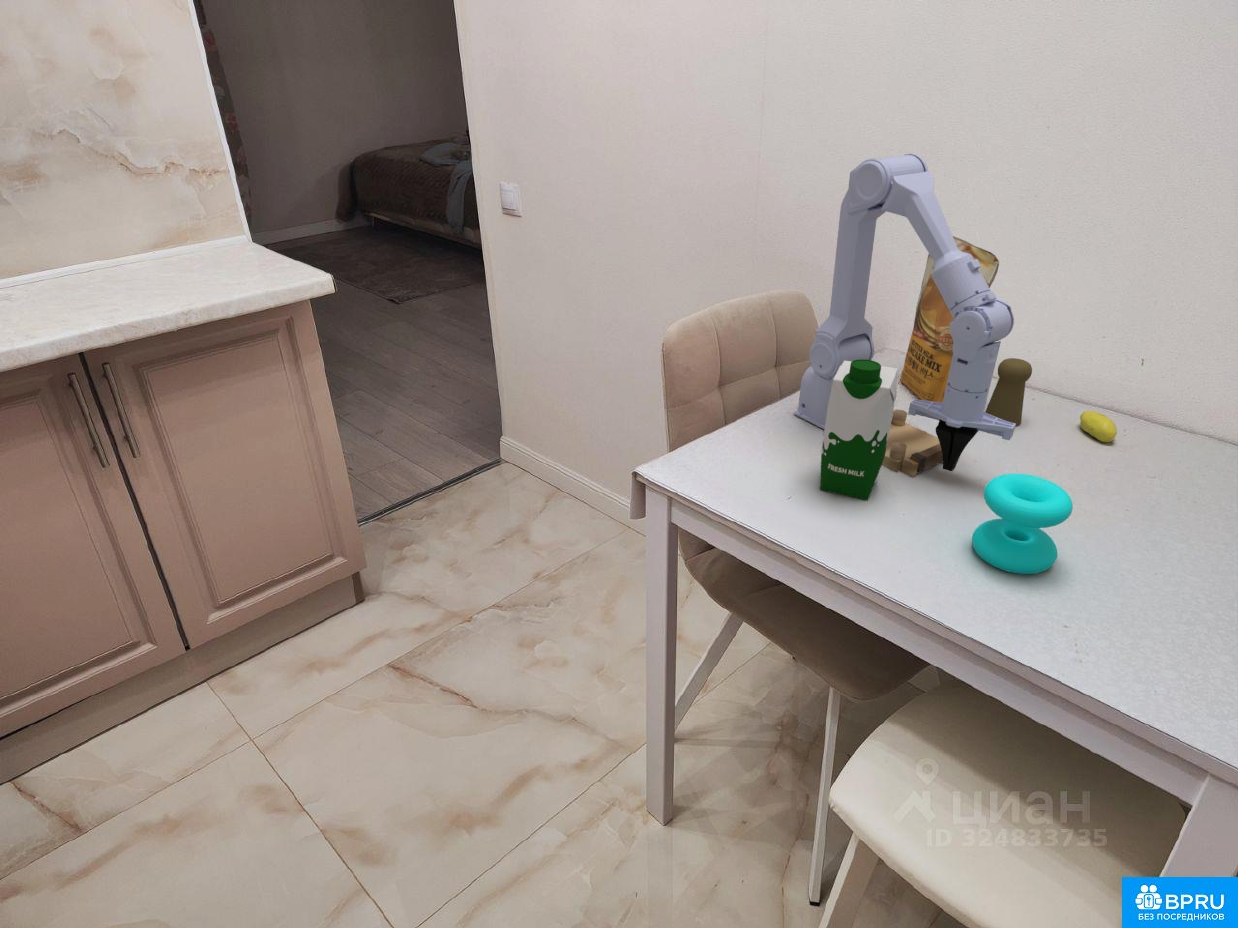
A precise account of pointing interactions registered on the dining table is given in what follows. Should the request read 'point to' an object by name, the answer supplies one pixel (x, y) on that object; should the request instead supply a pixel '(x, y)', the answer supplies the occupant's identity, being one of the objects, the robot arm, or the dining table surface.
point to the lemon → (1098, 426)
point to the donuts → (1021, 523)
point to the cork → (1010, 390)
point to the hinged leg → (928, 457)
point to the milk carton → (857, 427)
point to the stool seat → (905, 444)
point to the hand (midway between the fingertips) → (949, 467)
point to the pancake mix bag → (937, 331)
